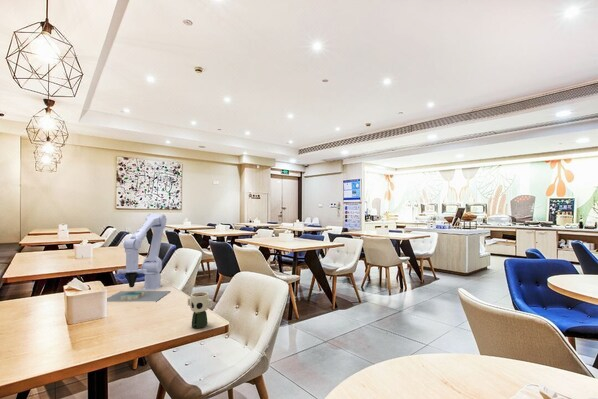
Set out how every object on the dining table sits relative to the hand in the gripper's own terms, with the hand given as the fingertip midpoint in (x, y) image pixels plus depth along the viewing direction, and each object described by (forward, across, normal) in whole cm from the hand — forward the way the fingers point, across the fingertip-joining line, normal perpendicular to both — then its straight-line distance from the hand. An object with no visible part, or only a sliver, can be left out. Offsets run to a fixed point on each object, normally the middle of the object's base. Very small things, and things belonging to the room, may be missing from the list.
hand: (131, 286), depth 157 cm
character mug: (+6, +47, -37) cm, 60 cm away
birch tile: (+5, -3, 0) cm, 6 cm away
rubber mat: (+6, +2, +2) cm, 7 cm away
